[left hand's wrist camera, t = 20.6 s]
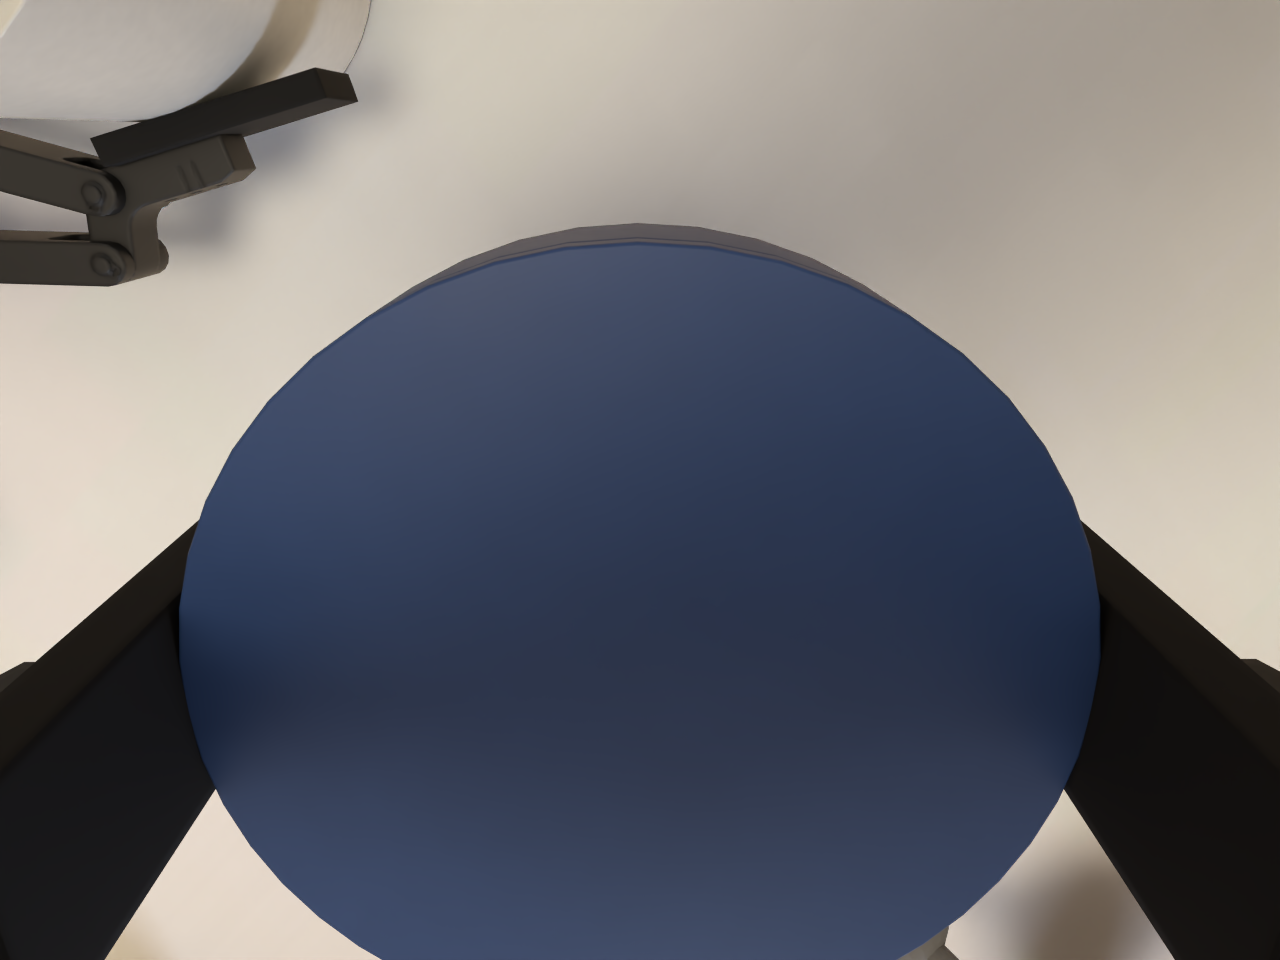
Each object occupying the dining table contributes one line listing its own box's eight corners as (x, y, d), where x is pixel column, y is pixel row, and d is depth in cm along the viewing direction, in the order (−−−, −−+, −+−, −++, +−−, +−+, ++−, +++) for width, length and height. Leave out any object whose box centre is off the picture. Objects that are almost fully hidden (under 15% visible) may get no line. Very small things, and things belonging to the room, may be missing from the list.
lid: (233, 164, 10) (138, 171, 8) (1140, 284, 10) (1248, 316, 9) (262, 876, 14) (204, 992, 12) (921, 939, 14) (964, 1058, 12)
